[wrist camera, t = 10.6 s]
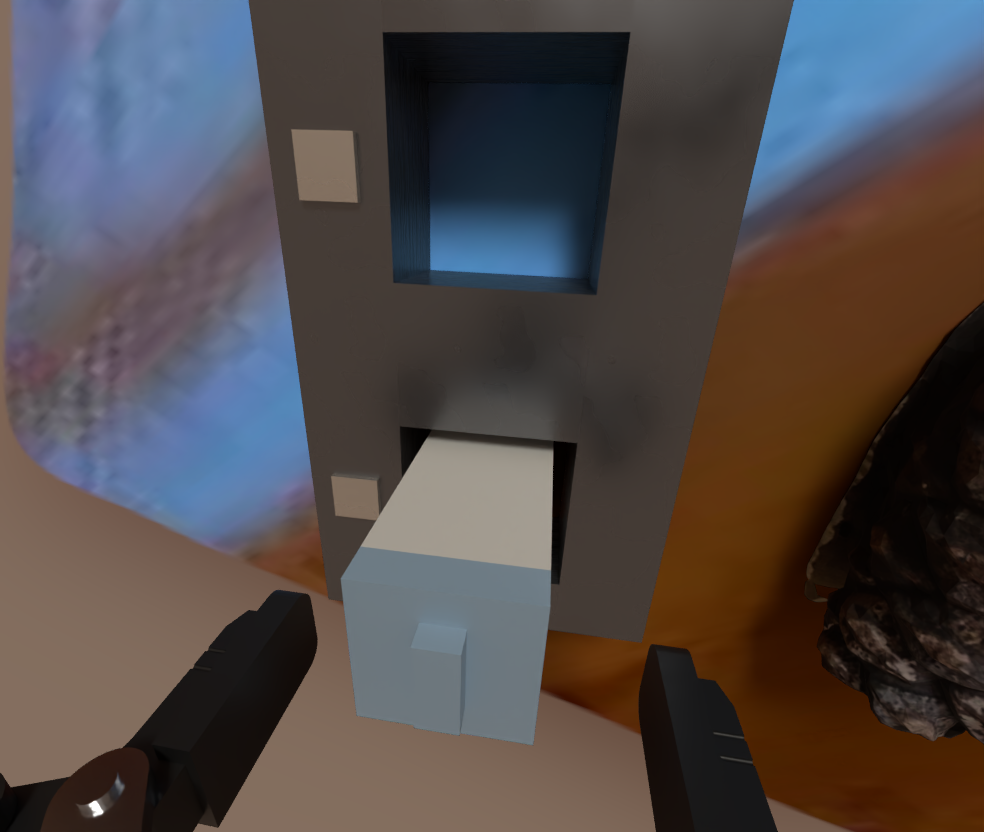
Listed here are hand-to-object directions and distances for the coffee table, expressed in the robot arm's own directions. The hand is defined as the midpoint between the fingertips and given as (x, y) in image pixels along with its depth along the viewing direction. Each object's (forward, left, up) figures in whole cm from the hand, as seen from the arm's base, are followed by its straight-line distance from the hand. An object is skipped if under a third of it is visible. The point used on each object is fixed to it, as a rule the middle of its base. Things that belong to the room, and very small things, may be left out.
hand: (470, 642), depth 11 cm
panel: (0, -5, -9) cm, 10 cm away
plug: (0, 0, -9) cm, 9 cm away
